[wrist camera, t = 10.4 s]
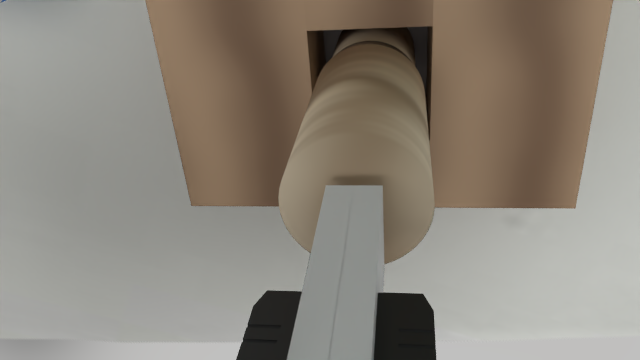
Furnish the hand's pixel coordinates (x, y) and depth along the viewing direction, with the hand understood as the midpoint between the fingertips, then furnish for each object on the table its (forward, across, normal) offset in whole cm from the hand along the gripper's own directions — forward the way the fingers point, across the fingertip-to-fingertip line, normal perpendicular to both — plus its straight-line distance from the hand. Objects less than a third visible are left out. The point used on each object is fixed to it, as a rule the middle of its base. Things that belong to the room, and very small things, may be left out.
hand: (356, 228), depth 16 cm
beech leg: (+15, 0, 0) cm, 15 cm away
